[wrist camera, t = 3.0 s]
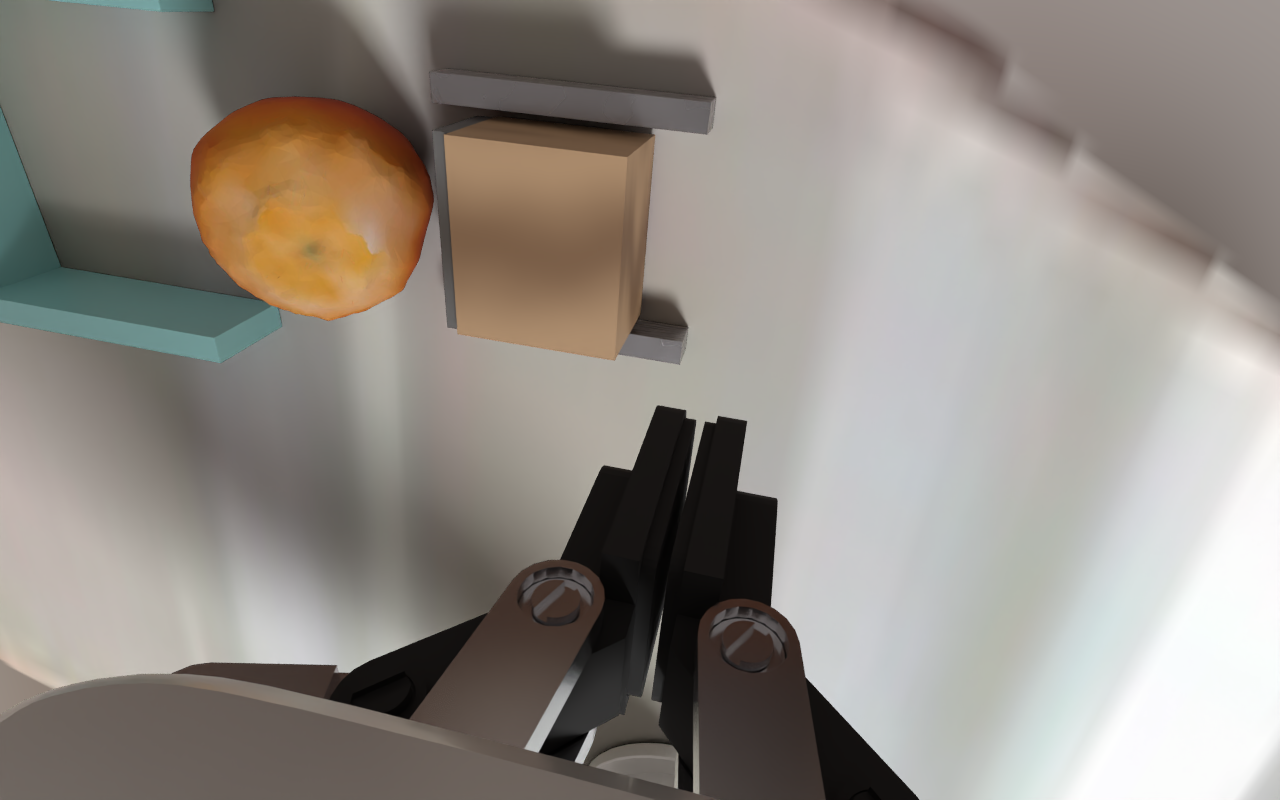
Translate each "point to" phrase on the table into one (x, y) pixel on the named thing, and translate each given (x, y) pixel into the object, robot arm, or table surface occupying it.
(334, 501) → the table surface
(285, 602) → the table surface
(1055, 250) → the table surface
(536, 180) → the block
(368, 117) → the fruit
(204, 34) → the table surface
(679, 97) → the launcher track
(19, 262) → the teal u-shaped frame
